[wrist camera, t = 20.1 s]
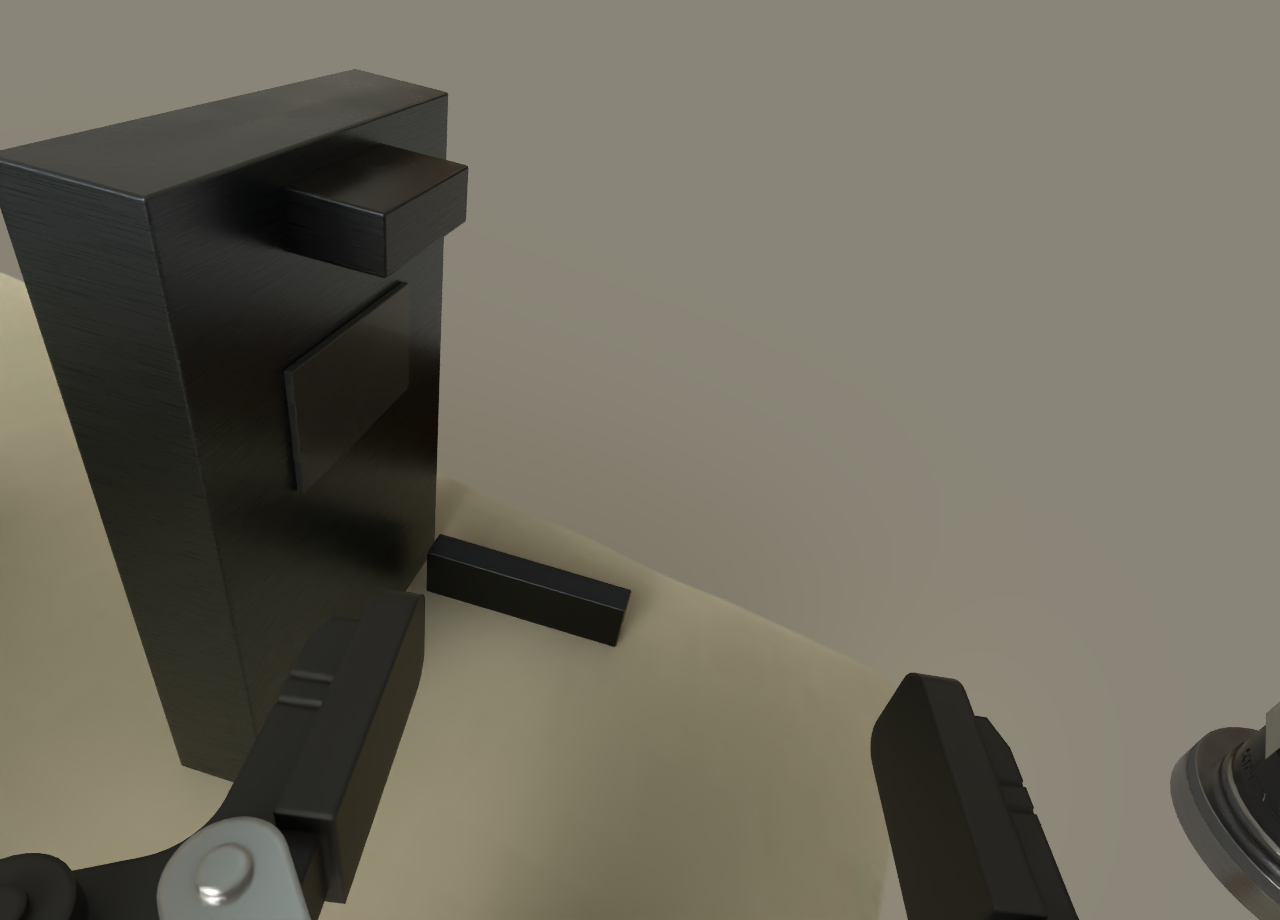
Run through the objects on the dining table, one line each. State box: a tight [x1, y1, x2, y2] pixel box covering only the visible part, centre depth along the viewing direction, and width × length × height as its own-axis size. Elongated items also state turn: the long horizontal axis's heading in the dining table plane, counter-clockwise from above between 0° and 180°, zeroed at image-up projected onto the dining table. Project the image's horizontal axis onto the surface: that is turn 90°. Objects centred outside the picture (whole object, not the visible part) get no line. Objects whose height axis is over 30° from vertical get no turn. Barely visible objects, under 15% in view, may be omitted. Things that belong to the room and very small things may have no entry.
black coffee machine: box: [0, 69, 631, 782], centre depth 30 cm, size 16×16×25 cm
